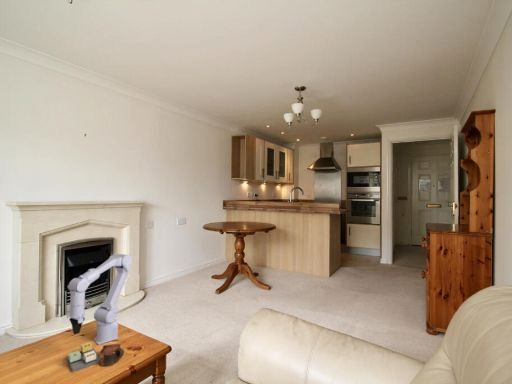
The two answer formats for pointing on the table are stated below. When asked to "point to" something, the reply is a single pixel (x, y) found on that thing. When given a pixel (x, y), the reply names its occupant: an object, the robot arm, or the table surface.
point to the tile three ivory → (89, 356)
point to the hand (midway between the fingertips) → (76, 333)
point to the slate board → (83, 361)
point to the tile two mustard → (86, 347)
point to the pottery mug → (111, 354)
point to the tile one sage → (74, 356)
